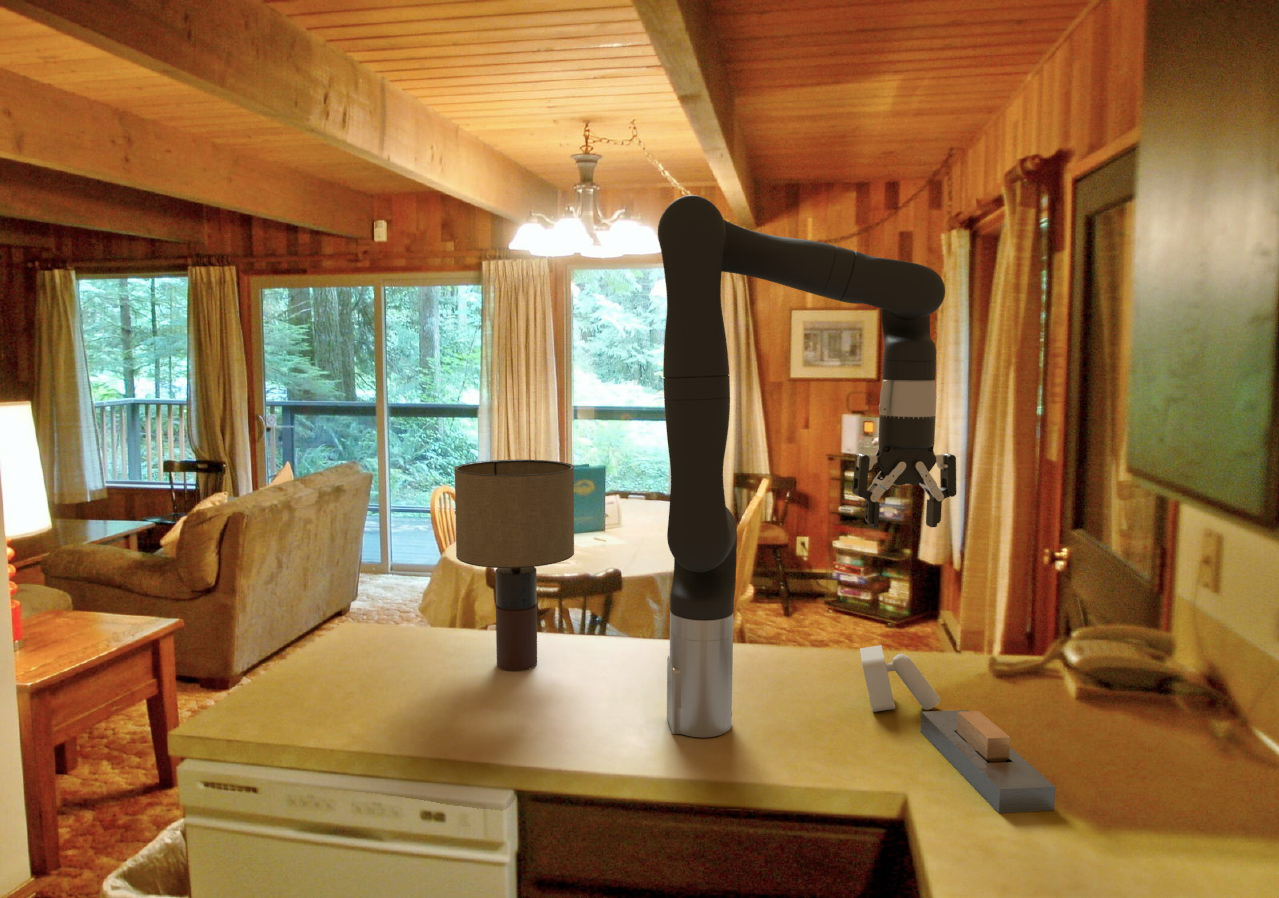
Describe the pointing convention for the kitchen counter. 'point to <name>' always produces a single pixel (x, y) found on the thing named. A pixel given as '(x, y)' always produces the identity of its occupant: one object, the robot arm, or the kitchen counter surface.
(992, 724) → the wooden block
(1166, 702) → the kitchen counter surface
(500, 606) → the lamp
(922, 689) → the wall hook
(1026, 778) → the rail
